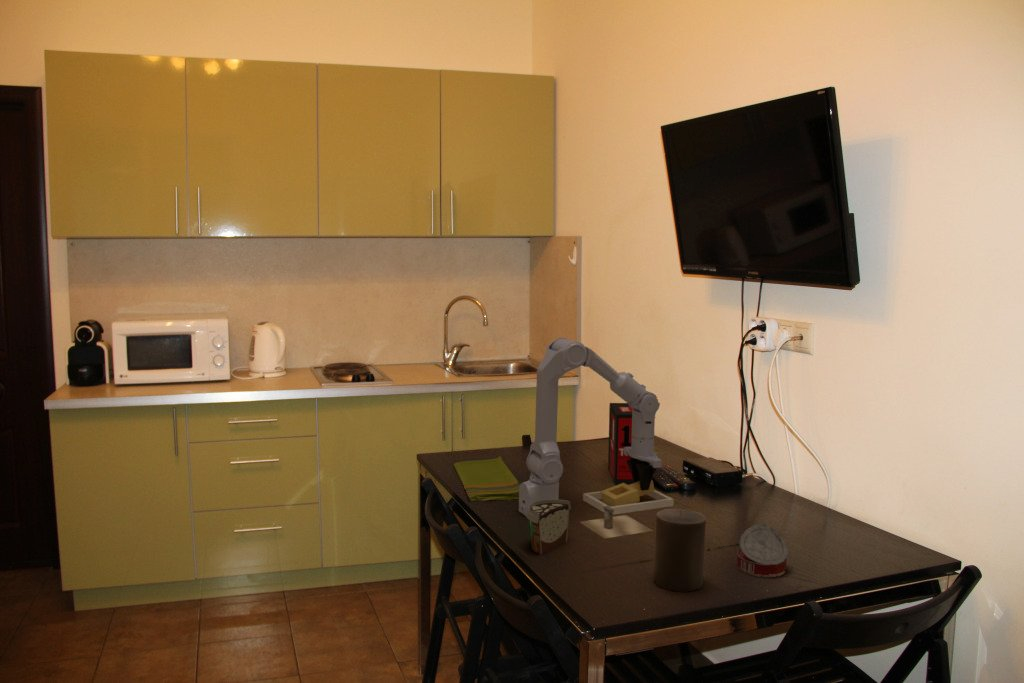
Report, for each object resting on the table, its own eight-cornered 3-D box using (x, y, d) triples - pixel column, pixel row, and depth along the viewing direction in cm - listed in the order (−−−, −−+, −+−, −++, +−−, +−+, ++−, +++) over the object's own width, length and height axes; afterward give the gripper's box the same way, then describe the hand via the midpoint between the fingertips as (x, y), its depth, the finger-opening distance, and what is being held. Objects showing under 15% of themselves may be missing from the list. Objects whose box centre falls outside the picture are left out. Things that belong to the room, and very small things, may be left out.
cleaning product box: (608, 468, 248) (609, 402, 246) (637, 469, 248) (639, 403, 246) (615, 485, 232) (616, 414, 229) (647, 485, 232) (649, 414, 229)
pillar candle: (679, 596, 160) (683, 520, 158) (643, 579, 167) (646, 506, 166) (713, 585, 165) (717, 511, 164) (676, 568, 173) (680, 499, 171)
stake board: (604, 541, 188) (605, 518, 187) (579, 525, 199) (579, 502, 198) (653, 533, 193) (653, 511, 193) (625, 518, 204) (626, 496, 204)
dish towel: (470, 504, 215) (470, 492, 215) (452, 467, 250) (452, 457, 250) (528, 501, 218) (528, 489, 218) (503, 465, 253) (503, 455, 253)
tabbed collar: (616, 510, 208) (614, 499, 208) (602, 502, 215) (600, 491, 214) (659, 493, 213) (657, 482, 212) (644, 486, 219) (642, 475, 219)
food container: (548, 537, 191) (549, 495, 190) (570, 543, 187) (571, 500, 186) (514, 552, 181) (514, 508, 180) (536, 559, 177) (537, 514, 176)
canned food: (781, 587, 176) (807, 551, 172) (760, 597, 168) (787, 560, 165) (740, 550, 182) (763, 515, 179) (718, 558, 175) (742, 522, 171)
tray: (608, 518, 204) (608, 508, 204) (582, 502, 216) (583, 493, 215) (673, 508, 212) (673, 499, 211) (645, 494, 223) (645, 485, 223)
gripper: (672, 441, 208) (670, 494, 210) (640, 429, 221) (639, 479, 223) (648, 444, 205) (647, 497, 207) (617, 431, 219) (616, 481, 220)
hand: (641, 488), depth 215 cm, fingers closed on tabbed collar, 2 cm apart
